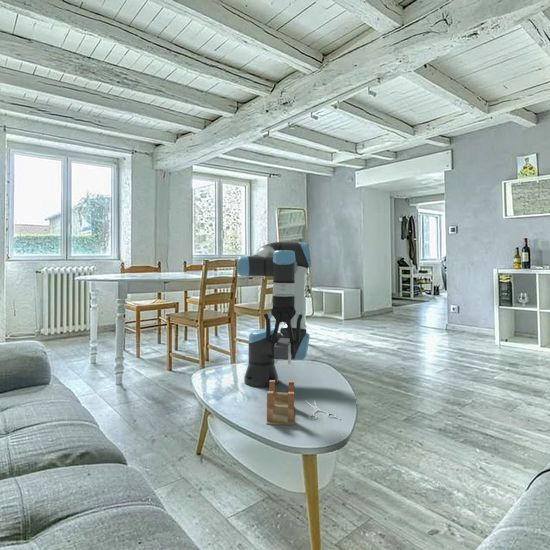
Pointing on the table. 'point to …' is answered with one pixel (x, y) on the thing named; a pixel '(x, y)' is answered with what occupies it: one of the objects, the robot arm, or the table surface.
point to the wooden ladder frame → (280, 405)
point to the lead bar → (281, 349)
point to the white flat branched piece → (320, 411)
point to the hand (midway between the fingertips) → (282, 362)
